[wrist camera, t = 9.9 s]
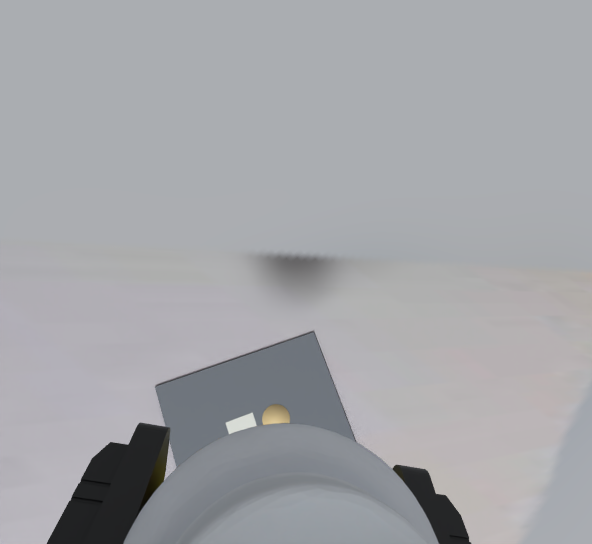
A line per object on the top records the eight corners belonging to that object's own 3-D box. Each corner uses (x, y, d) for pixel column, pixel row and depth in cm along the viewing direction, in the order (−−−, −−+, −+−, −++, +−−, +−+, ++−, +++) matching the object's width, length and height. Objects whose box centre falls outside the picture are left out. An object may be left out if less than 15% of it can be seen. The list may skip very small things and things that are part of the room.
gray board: (195, 535, 26) (195, 537, 26) (155, 387, 29) (154, 386, 28) (362, 462, 29) (363, 463, 29) (312, 333, 31) (313, 332, 31)
